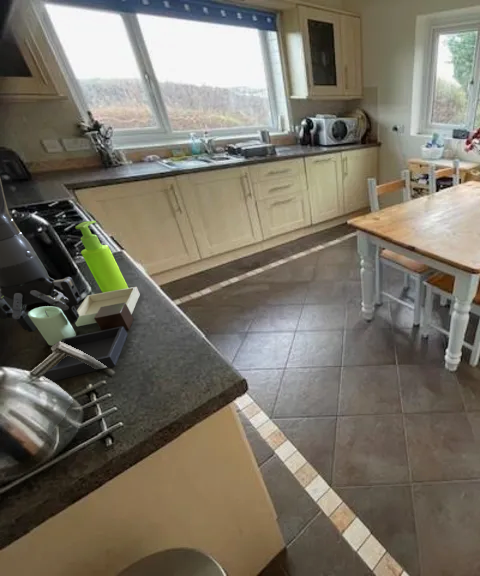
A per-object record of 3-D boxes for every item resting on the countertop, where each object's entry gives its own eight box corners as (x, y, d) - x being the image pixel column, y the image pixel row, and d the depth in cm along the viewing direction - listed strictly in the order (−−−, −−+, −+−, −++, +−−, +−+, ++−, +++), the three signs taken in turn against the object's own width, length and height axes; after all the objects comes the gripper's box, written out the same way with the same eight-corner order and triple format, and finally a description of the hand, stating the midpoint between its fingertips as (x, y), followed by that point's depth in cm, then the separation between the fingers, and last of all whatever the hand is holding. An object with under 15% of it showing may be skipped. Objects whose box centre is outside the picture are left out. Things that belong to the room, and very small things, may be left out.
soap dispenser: (134, 283, 97) (103, 218, 87) (122, 295, 91) (88, 227, 81) (112, 285, 96) (78, 219, 86) (98, 297, 90) (61, 229, 80)
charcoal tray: (46, 382, 64) (39, 373, 62) (68, 347, 72) (62, 338, 71) (115, 366, 67) (109, 356, 66) (127, 334, 76) (123, 325, 75)
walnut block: (103, 335, 76) (93, 318, 73) (109, 323, 80) (100, 306, 77) (129, 330, 78) (120, 313, 75) (133, 318, 82) (125, 302, 79)
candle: (80, 330, 78) (63, 301, 74) (69, 343, 74) (50, 313, 69) (55, 334, 77) (36, 305, 72) (43, 347, 73) (21, 317, 68)
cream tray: (76, 326, 79) (71, 318, 78) (91, 303, 88) (87, 295, 87) (131, 315, 83) (127, 307, 82) (140, 294, 92) (136, 286, 90)
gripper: (62, 245, 70) (98, 309, 79) (-27, 257, 65) (21, 324, 74) (47, 259, 64) (88, 326, 73) (-52, 274, 59) (3, 344, 68)
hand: (54, 325), depth 73 cm, fingers open, 7 cm apart
